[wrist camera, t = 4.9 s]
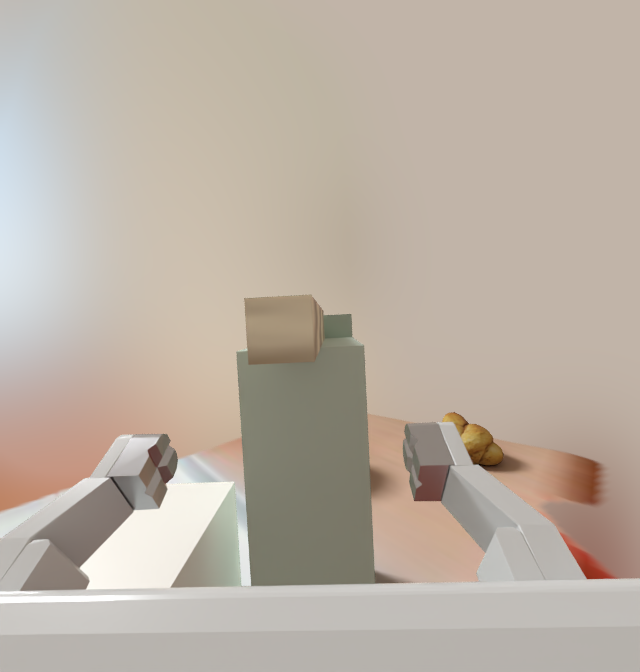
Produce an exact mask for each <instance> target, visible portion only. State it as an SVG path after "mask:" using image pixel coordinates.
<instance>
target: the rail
mask: <svg viewBox="0 0 640 672" xmlns="http://www.w3.org/2000/svg"><path fill="white" fill-rule="evenodd" d="M244 300H245V316H246V332H247V350H248V365H257V364H278V363H299V362H315V360H316V357H317V355H318V353H319V350H320V348H321V346H322V344H323V341H324V339H325V335H324V316H323V310H322V308H321V307H320V306H319V305H318V303H317V302H316V301H315V299H314V298H313V297H312V295H298V296H297V295H296V296H278V297H261V298H244Z"/></svg>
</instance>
